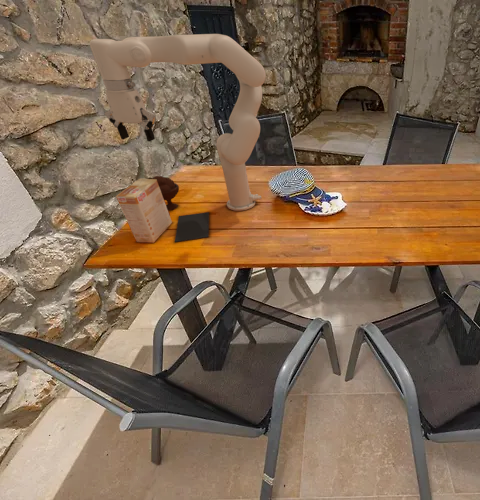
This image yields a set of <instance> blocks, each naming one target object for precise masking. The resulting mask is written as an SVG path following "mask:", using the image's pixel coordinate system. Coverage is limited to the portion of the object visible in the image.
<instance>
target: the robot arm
mask: <svg viewBox="0 0 480 500" xmlns="http://www.w3.org/2000/svg"><path fill="white" fill-rule="evenodd" d="M89 47H90V50H91V53H92V55H93V57H94V61H95V63H96V66H97V69H98V71H99V74H100V76H101V79H102V81H103V84H104V87H105V96H106V98H107V104H108V107H109V109H108V110H106V111H105V112H104V116H105V117H106V118H107V119H108V121H109V122H110V123H111V124H113V126H114V128H116V129H117V131H118V132H117V133H118V134H119V136H120V139H121V140H125V139H128V138H129V137H130V135H129V132H128V130H127V127H126V125H125V124H139V125H141V127H143V128H144V129H143V131H144V135H145V137H146V140H147V142H152V141H154V140H156V138H155V133H154V131H153V128H154V126H155V123H156V122H155V121H156V115H155V114H153V113H151V112H150V111H148V110H147V108H146V104H145V103H144V101H143V99H142V96H141V94H140V92H139V91H138V90H137V88H136V89H135V87H136V83H135V82H134V81H132V79H131V76H130V73H129V70H128V67H134V68H145V67H147V66H149V65H150V64H151V63H172V64H178V65H187V66H189V65H190V66H192V65H203V64H205V65H206V64H217V63H219V64H220V63H221V64H222V65H224V66H225V68H227V69H228V70H230V72H232V73H234V75H235V77H236V79H237V80H238V82H239V93H238V96H237V100H236V102H235V104H234V105H233V108H232V111H231V113H230V116H229V118H228V125H229V127H230V129H231V130H232V133H229V132H225V133H222V134H220V135H219V136H218V138H217V139H216V146H215V147H216V152H217V154H218V157H219V160H220V164H221V168H222V169H221V170H222V172H223V178H224V181H225V182H224V183H225V187H226V190H227V196H228V200H227V201H226V208H228V209H229V210H231V211H235V212H243V211H247V210H249V209H252V208H253V207H254V206H256V201H262V200H263V199H262V198H263V197H262V195H259V194H258V193H255V194H253V193H252V192H251V190H250V189H251V188H250V184H249V178H248V172H247V171H248V170H247V165H246V162H247V161H248V160H249V159H250V157H251V155H252V152H253V150H254V149H255V146H256V144H257V141H258V139H259V137H260V133H261V123H260V121H259V119H258V117H257V114H258V113H259V110H260V107H261V106H262V105H261V104H262V102H263V101H262V100H263V88H262V85H263V84H264V83H265V82H266V78H267V73H266V70H265V67H264V66H263V64H261V62H259V60H257V59H256V58H255V57H253V55H251V54H250V53H249V52H248V51H247V50H245V48H243V47H242V46H241V45H240V44H239V43H238V42H237V41H235V39H233V38H232V37H231V36H228V35H226V34H221V33H201V34H200V33H199V34H172V35H160V36H159V35H157V36H154V35H153V36H128V37H126V38H123V39H122V40H116V39H111V38H93V39H90V41H89Z"/></svg>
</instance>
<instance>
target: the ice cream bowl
mask: <svg viewBox="0 0 480 500" xmlns="http://www.w3.org/2000/svg"><path fill="white" fill-rule="evenodd" d="M151 179H157V182H158V185H159V188H160V190H161V193H162V196H163V199H164V201H165V202H166V203H167V204H166V207H167V210H168V211H173V210H176V209H177V208H178V207H179V205H178V204H177V203H174V202H172V200H173V199H174V198H175V197H177V195H178V194H179V191H180V186H179V185H178V184H177V183H176V182H175V181H174V180H173V179H171V178H170V177H167V176H163V175H155V176H153V177H152V178H151Z"/></svg>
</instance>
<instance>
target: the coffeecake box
mask: <svg viewBox="0 0 480 500" xmlns="http://www.w3.org/2000/svg"><path fill="white" fill-rule="evenodd" d="M115 198H116V200H117V202H118V204H119V207H120V209H121V211H122V213H123V215H124V218H125V219H126V222H127V224H128V226H129V229H130V231H131V233H132V235H133V237H134V239H135V241H136V243H149V244H151V243H153V244H154V243H156V241H157V240H158V239H159V238H160V236H161V235H162V234H163V233H164V232H165V231H166V230H167V229H168V228H169V227H170V226H171V225H172V223H173V220H172V218H171V215H170V212H169V210H167V207H166V205H167V204H166V200H164V199H163V196H162V193H161V190H160V188H159V185H158V182H157V179H152V178H141V177H140V178H137V180H135V181H134V182H133V183H131V184H130V185H129V186H128V187H126V188H124V189H123V190H122V191H121V192H119V193H117V194H116V196H115Z"/></svg>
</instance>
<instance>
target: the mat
mask: <svg viewBox="0 0 480 500" xmlns="http://www.w3.org/2000/svg"><path fill="white" fill-rule="evenodd" d="M209 232H210V212H209V211H207V212H200V213H193V214H183V215H179V216H178V220H177V226H176V231H175V237H174V243H180V242H181V243H182V242H188V241H193V240H199V239H207V238H210V237H209V234H210V233H209Z"/></svg>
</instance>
